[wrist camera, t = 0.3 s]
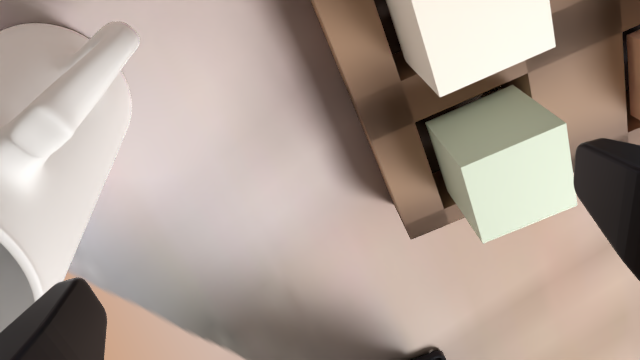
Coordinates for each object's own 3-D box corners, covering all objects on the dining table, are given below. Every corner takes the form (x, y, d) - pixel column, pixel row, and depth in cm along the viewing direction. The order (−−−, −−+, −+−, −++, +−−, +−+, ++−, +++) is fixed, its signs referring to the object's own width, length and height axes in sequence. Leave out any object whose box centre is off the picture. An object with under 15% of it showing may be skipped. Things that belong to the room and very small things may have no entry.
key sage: (527, 158, 22) (577, 205, 19) (447, 191, 23) (483, 243, 19) (512, 84, 20) (566, 123, 17) (425, 122, 21) (460, 167, 17)
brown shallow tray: (722, 67, 24) (777, 88, 22) (394, 205, 26) (410, 239, 23) (745, -280, 17) (832, -310, 14) (287, -57, 19) (293, -49, 16)
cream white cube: (499, 18, 19) (555, 46, 15) (405, 60, 19) (440, 97, 16) (478, -89, 17) (537, -83, 13) (372, -39, 17) (405, -21, 14)
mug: (71, 189, 23) (-65, 428, 13) (-69, 89, 20) (-402, 301, 10) (225, 55, 21) (208, 215, 10) (95, -84, 17) (-114, -48, 7)
